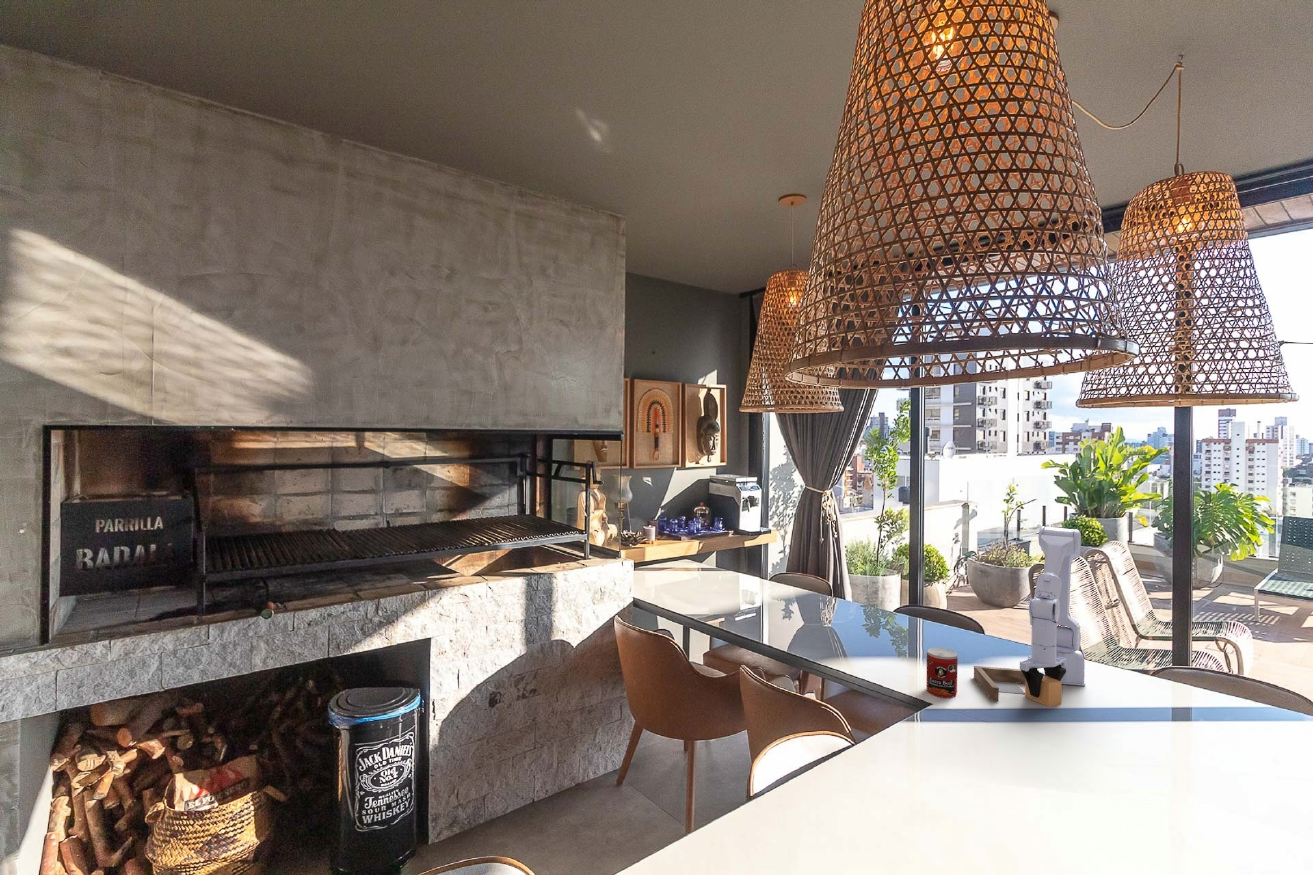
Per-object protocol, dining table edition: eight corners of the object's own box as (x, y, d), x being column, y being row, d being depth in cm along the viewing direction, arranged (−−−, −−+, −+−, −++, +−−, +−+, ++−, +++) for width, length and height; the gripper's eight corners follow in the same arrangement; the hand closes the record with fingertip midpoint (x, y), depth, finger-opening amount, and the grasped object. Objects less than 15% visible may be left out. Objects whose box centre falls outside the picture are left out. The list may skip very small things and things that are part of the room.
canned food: (924, 694, 177) (925, 653, 177) (927, 685, 184) (928, 645, 184) (956, 700, 174) (956, 658, 174) (957, 690, 181) (958, 650, 181)
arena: (1037, 682, 188) (1037, 670, 188) (1062, 706, 171) (1063, 692, 171) (973, 677, 191) (974, 665, 191) (992, 700, 174) (992, 687, 174)
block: (1037, 694, 179) (1038, 672, 179) (1061, 704, 172) (1061, 681, 172) (1025, 696, 177) (1025, 674, 177) (1048, 706, 171) (1048, 683, 171)
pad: (1015, 682, 187) (1015, 682, 187) (1025, 694, 179) (1025, 693, 179) (981, 680, 189) (981, 680, 189) (991, 691, 180) (991, 690, 180)
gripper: (1050, 636, 181) (1049, 686, 181) (1010, 641, 176) (1009, 692, 176) (1074, 644, 174) (1073, 695, 174) (1033, 649, 170) (1032, 702, 170)
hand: (1043, 694), depth 175 cm, fingers open, 5 cm apart
